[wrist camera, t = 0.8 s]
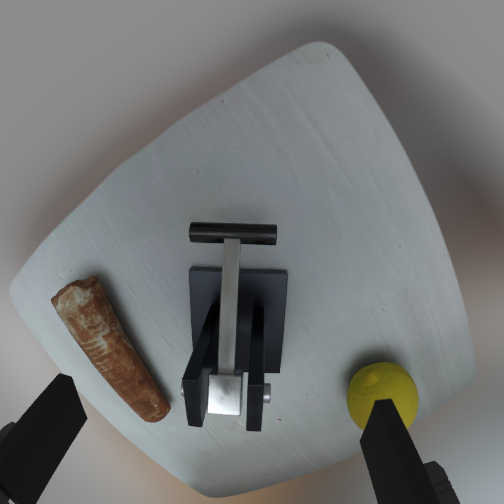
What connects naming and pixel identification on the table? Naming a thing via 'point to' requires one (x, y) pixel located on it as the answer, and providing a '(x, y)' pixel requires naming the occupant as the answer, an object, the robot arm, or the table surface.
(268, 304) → the bracket
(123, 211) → the table surface
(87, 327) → the bread
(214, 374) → the lever
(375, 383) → the lemon
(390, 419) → the robot arm
